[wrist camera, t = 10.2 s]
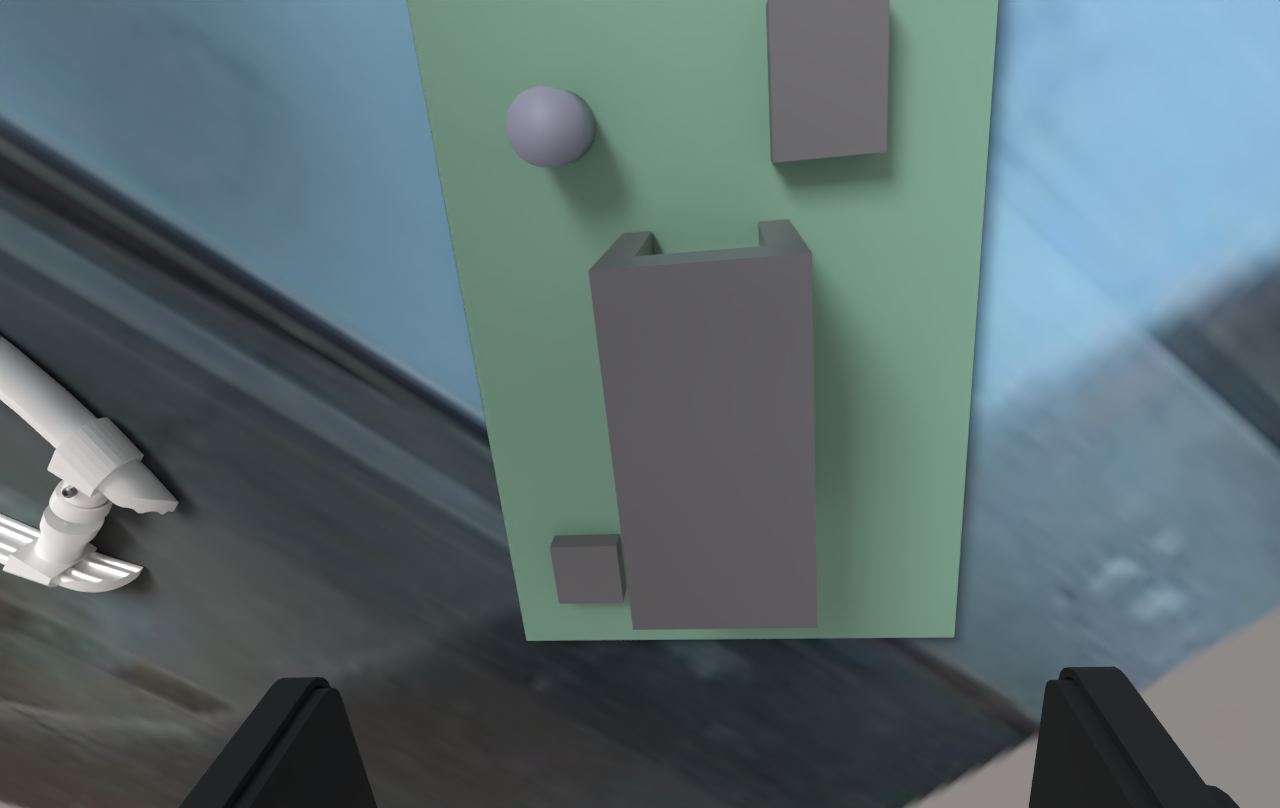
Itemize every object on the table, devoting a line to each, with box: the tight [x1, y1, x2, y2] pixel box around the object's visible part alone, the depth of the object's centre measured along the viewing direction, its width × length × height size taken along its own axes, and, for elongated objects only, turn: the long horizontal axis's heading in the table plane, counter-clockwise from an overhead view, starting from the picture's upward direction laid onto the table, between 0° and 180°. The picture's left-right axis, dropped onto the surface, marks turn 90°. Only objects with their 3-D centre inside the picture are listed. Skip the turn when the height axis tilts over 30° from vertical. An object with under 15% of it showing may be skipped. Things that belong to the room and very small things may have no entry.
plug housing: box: [589, 219, 817, 630], centre depth 21 cm, size 10×5×6 cm, turn 6°
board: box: [407, 0, 998, 641], centre depth 22 cm, size 24×16×3 cm, turn 6°
